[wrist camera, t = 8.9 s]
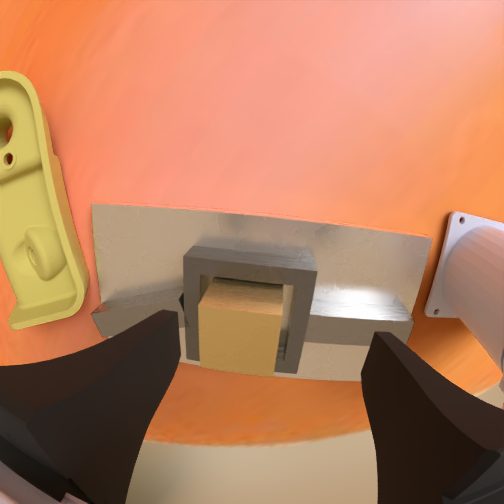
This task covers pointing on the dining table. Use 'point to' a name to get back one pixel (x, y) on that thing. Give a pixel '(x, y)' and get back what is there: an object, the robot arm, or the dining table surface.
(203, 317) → the tan small block
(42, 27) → the dining table surface
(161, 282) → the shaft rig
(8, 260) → the plastic component
